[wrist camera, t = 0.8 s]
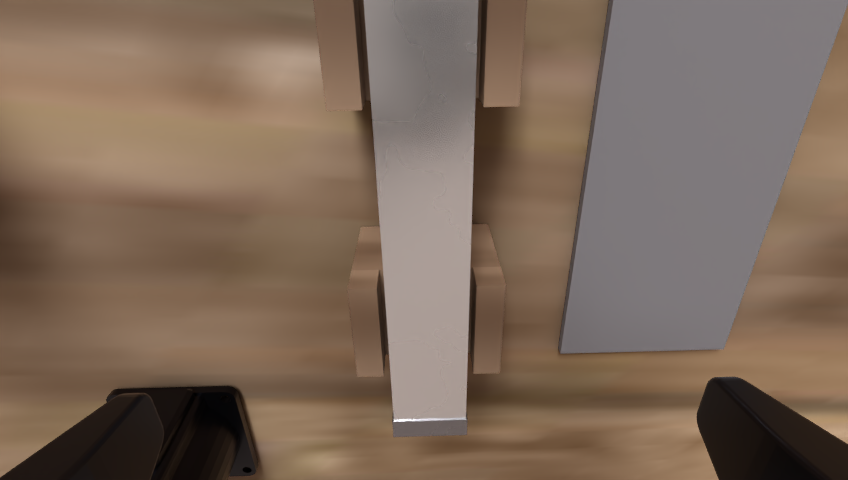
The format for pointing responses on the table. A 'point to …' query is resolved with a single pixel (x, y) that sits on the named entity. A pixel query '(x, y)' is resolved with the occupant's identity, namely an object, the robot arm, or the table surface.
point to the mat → (687, 164)
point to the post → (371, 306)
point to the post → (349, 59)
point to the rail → (425, 200)
